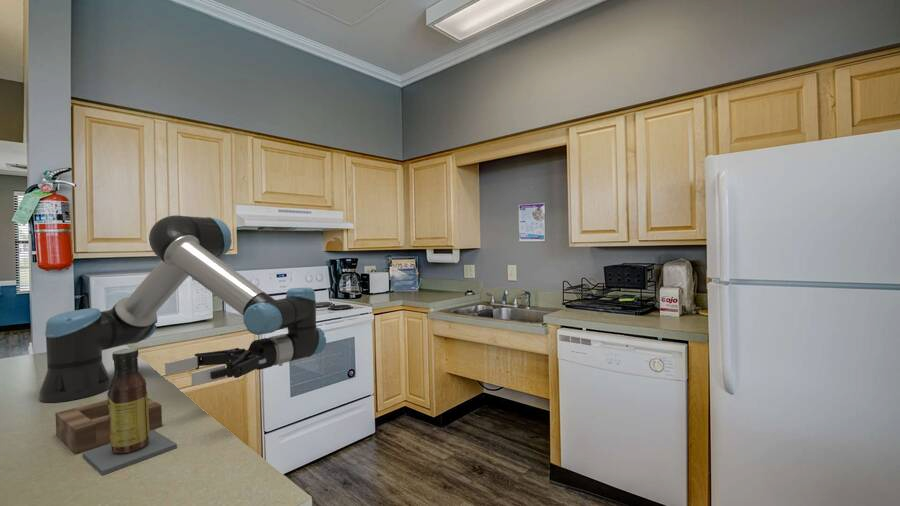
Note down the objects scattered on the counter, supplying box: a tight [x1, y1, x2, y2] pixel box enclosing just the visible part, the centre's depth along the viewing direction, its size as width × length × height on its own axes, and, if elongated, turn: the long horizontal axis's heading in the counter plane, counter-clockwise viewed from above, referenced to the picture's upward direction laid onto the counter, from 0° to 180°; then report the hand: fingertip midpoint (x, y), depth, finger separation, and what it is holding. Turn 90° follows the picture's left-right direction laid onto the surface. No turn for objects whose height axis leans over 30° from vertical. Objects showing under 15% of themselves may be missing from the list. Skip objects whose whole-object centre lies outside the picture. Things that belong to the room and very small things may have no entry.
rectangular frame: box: [55, 397, 163, 455], centre depth 92 cm, size 15×15×5 cm
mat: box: [82, 429, 178, 476], centre depth 82 cm, size 12×12×1 cm
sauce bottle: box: [107, 347, 151, 454], centre depth 82 cm, size 6×6×20 cm
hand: (178, 373), depth 89 cm, fingers open, 13 cm apart
